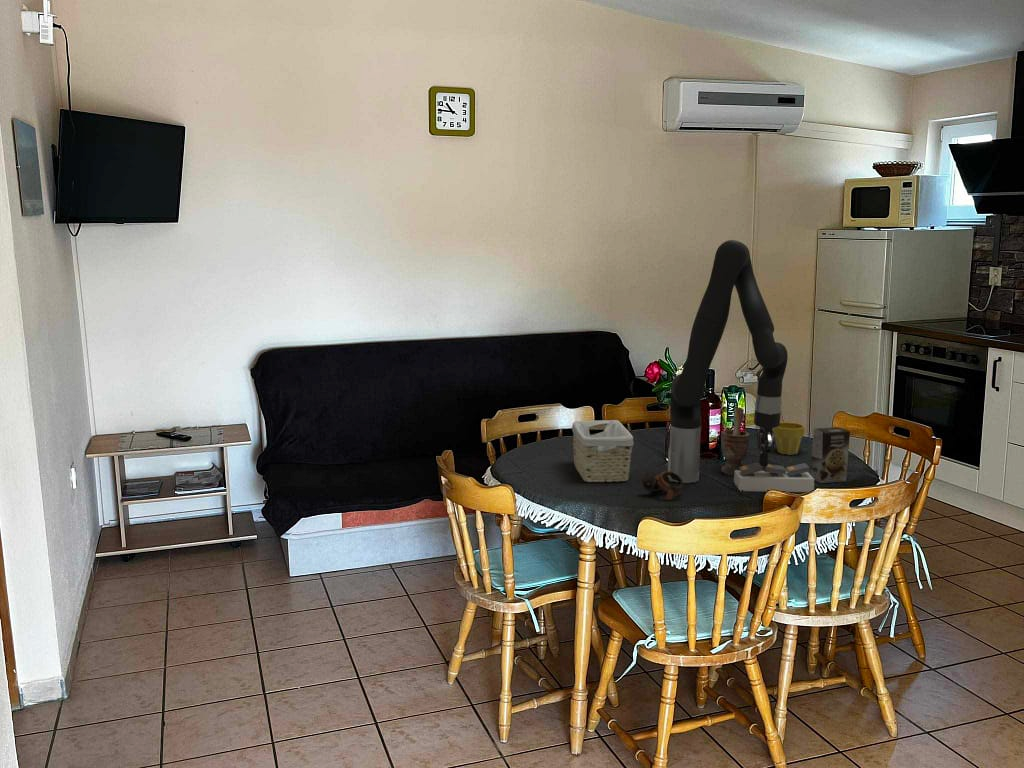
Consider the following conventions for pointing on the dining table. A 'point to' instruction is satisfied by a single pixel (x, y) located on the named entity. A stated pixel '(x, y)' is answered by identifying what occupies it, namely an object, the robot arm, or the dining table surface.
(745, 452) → the mortar and pestle
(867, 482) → the dining table surface
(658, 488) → the brown looped piece
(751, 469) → the rocker
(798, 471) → the rocker
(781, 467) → the rocker
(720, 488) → the dining table surface
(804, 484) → the power strip
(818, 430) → the brown cookie box
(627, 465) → the storage basket
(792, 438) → the plant pot
